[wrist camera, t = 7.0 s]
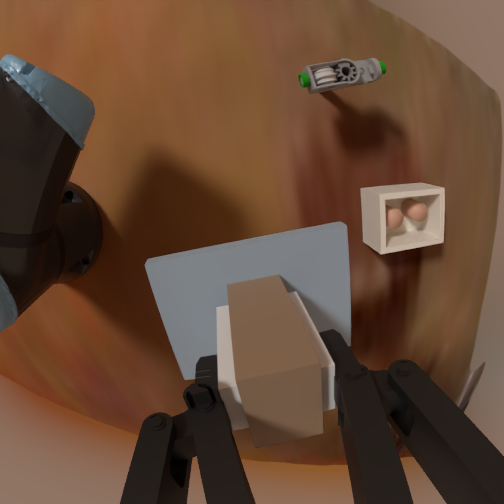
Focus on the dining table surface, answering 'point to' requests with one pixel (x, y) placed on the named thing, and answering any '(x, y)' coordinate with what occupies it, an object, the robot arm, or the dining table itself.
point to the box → (402, 216)
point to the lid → (261, 319)
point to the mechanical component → (340, 74)
